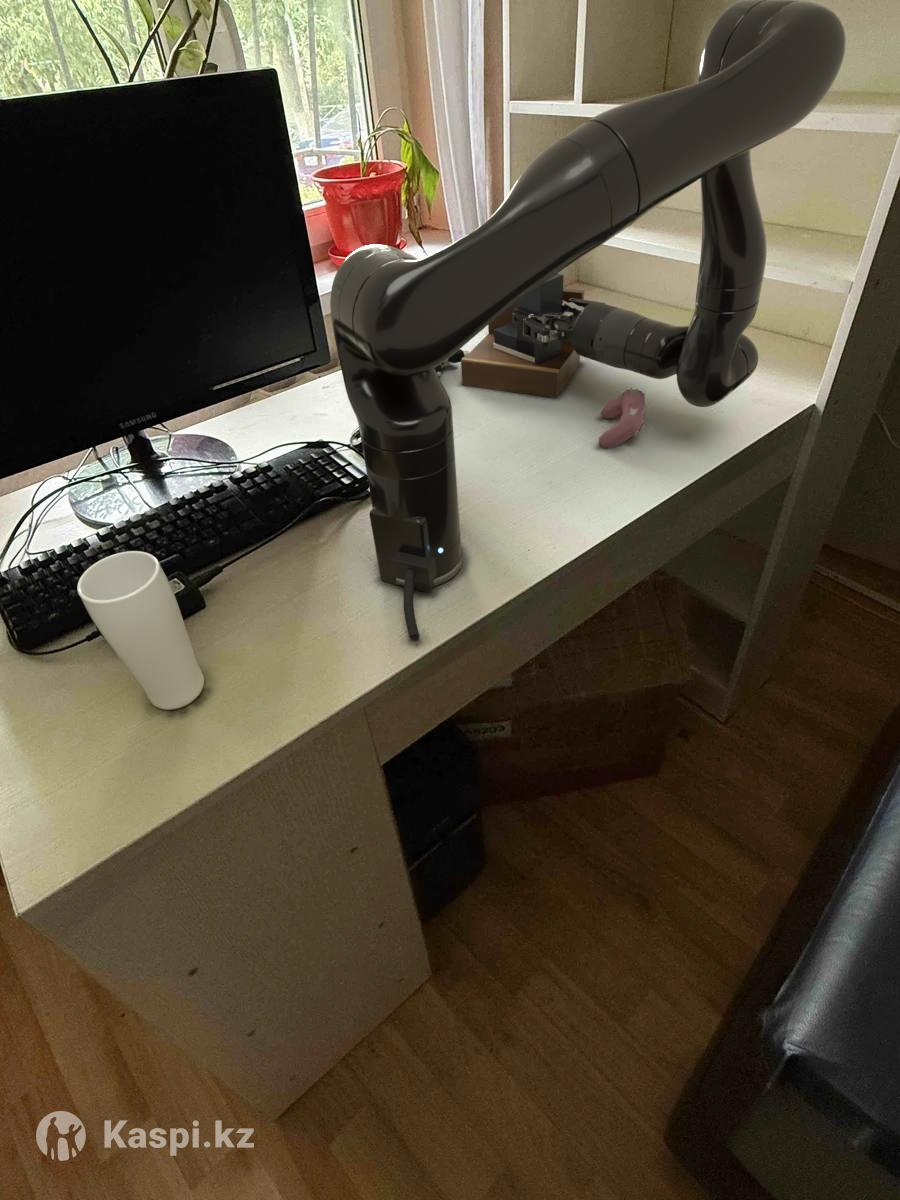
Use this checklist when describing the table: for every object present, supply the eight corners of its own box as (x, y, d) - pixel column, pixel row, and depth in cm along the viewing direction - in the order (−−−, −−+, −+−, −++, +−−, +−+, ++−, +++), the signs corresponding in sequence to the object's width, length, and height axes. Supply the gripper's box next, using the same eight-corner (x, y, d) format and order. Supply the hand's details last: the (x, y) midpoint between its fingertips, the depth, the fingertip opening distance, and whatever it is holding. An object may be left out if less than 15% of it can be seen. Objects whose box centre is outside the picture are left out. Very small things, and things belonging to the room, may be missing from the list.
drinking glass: (128, 700, 66) (58, 585, 56) (182, 656, 70) (126, 540, 60) (173, 729, 63) (108, 613, 53) (227, 681, 67) (176, 565, 57)
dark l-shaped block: (560, 353, 109) (564, 274, 101) (538, 364, 107) (540, 284, 99) (515, 338, 115) (515, 261, 107) (493, 347, 112) (491, 270, 104)
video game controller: (623, 460, 95) (653, 420, 90) (595, 446, 94) (623, 405, 90) (624, 425, 102) (652, 387, 97) (598, 412, 101) (624, 372, 97)
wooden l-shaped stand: (555, 398, 107) (559, 320, 99) (462, 385, 112) (457, 310, 104) (579, 364, 115) (584, 290, 107) (491, 353, 121) (489, 282, 113)
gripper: (647, 294, 97) (557, 271, 107) (581, 325, 91) (492, 298, 101) (641, 346, 102) (556, 320, 112) (578, 379, 96) (493, 348, 106)
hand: (526, 309), depth 106 cm, fingers closed on dark l-shaped block, 5 cm apart
